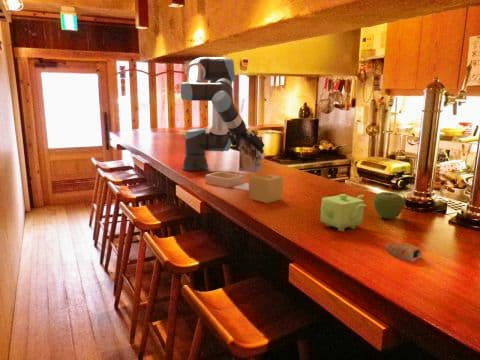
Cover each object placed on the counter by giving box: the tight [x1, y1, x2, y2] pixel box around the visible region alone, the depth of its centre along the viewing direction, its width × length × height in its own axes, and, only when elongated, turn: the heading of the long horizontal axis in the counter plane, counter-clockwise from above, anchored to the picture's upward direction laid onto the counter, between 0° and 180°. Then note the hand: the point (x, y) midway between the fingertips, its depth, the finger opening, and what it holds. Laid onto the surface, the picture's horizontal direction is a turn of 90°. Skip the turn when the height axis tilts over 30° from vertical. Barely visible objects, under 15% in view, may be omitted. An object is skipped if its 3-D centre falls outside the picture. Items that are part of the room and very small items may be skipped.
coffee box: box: [238, 136, 263, 174], centre depth 177 cm, size 9×6×16 cm
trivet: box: [232, 182, 249, 192], centre depth 181 cm, size 11×11×1 cm
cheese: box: [248, 174, 284, 204], centre depth 161 cm, size 10×11×10 cm
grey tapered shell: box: [385, 242, 423, 263], centre depth 107 cm, size 9×7×4 cm
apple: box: [372, 191, 407, 220], centre depth 139 cm, size 11×10×10 cm
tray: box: [204, 171, 244, 188], centre depth 189 cm, size 12×15×4 cm
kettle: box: [319, 193, 367, 232], centre depth 129 cm, size 15×14×11 cm
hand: (254, 155), depth 180 cm, fingers closed on coffee box, 10 cm apart
